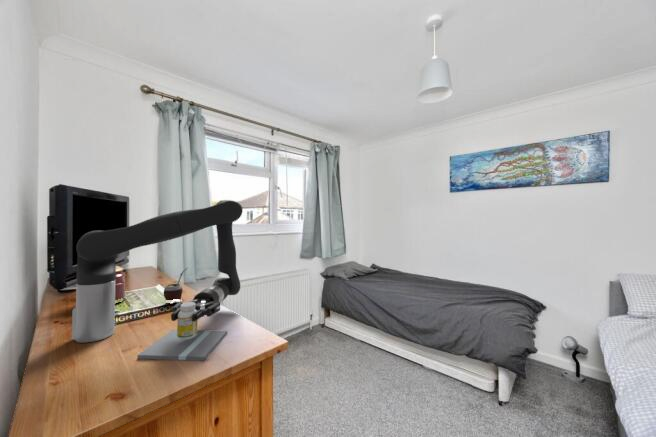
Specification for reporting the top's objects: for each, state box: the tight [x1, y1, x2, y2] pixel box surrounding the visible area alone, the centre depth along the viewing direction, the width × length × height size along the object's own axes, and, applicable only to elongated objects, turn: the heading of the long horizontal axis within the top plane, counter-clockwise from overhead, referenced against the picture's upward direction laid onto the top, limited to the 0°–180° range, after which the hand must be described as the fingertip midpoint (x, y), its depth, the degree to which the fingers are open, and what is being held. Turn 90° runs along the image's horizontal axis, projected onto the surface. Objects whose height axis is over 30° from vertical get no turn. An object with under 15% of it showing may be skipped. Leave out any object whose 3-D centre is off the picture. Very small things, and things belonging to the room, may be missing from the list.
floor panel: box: [137, 329, 228, 362], centre depth 79 cm, size 18×16×1 cm
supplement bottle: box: [176, 301, 199, 340], centre depth 79 cm, size 5×5×10 cm
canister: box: [115, 265, 127, 300], centre depth 113 cm, size 13×13×18 cm
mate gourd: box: [163, 267, 188, 301], centre depth 115 cm, size 8×8×15 cm
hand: (183, 317), depth 76 cm, fingers closed on supplement bottle, 5 cm apart
